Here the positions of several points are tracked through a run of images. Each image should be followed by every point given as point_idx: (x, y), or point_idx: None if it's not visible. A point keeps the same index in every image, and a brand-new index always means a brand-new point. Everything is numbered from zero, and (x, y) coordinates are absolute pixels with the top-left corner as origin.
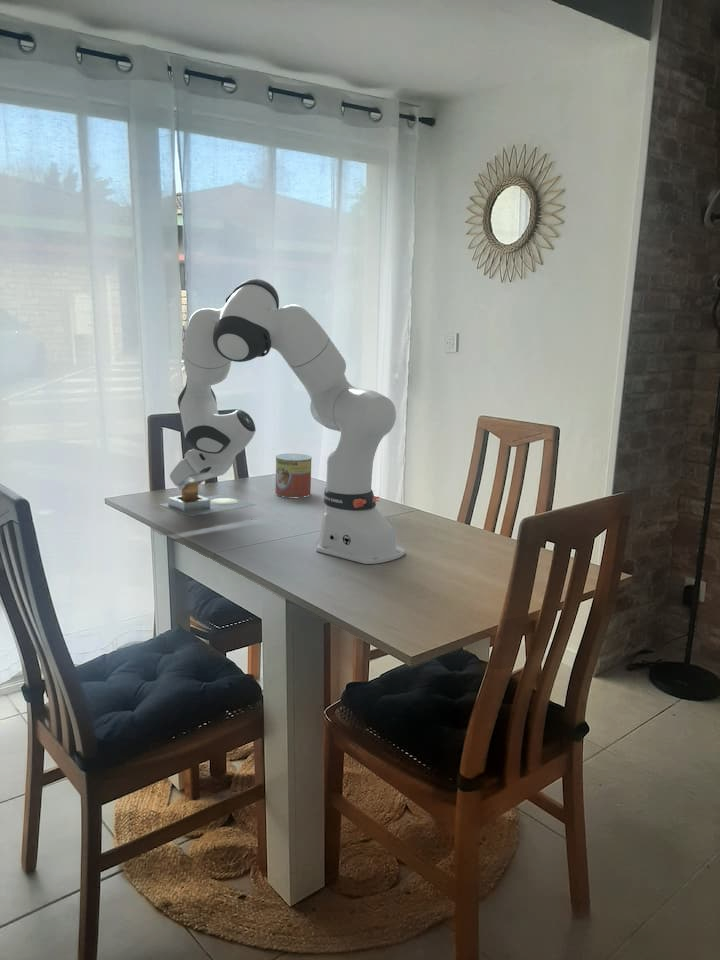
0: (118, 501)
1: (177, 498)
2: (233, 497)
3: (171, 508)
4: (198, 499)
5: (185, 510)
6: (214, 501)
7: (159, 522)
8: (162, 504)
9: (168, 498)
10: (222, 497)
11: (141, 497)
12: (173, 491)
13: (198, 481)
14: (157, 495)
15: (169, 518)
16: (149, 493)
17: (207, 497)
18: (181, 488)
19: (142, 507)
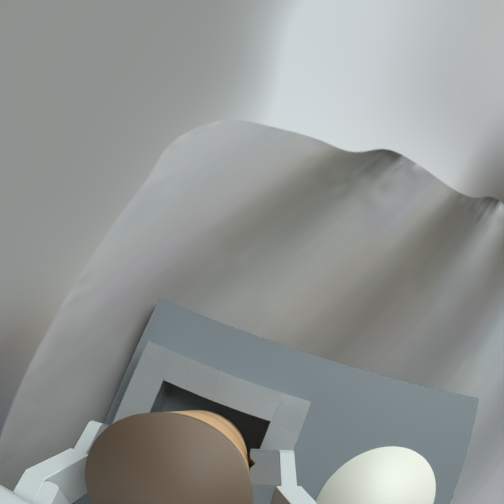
0: (183, 139)
1: (156, 396)
2: (457, 471)
3: (125, 391)
4: None
5: None
6: (355, 479)
7: (11, 419)
8: (164, 312)
9: (148, 343)
10: (435, 442)
11: (269, 156)
12: (403, 190)
13: (263, 500)
14: (327, 178)
15: (61, 430)
16: (327, 148)
17: (399, 395)
18: None
19: (147, 240)
